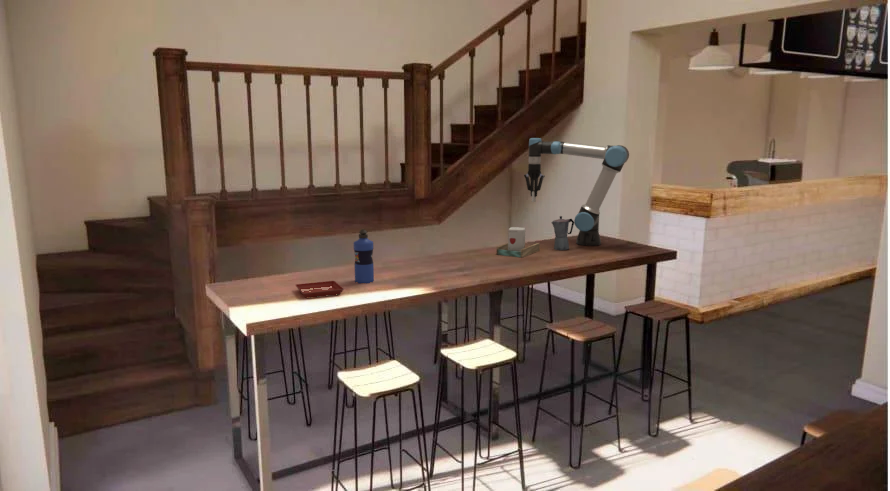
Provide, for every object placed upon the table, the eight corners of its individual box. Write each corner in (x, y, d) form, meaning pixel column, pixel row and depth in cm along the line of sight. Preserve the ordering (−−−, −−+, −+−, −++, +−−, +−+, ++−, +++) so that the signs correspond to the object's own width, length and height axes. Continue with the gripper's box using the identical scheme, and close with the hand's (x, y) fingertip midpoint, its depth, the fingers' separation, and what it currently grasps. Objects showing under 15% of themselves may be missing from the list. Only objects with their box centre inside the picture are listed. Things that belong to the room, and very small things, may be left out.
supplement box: (507, 255, 365) (507, 229, 362) (509, 252, 374) (510, 226, 371) (523, 255, 363) (523, 229, 360) (525, 252, 372) (525, 227, 369)
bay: (539, 250, 378) (539, 243, 377) (522, 257, 358) (522, 249, 357) (514, 247, 386) (514, 240, 385) (496, 254, 366) (496, 246, 365)
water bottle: (357, 284, 299) (356, 231, 294) (352, 280, 307) (350, 228, 302) (376, 282, 302) (375, 230, 298) (370, 278, 311) (369, 227, 306)
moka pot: (546, 248, 383) (547, 215, 380) (567, 246, 390) (568, 214, 386) (555, 251, 375) (556, 217, 371) (577, 249, 381) (578, 216, 377)
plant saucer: (295, 291, 289) (294, 283, 288) (334, 286, 296) (334, 280, 295) (303, 300, 272) (303, 293, 272) (344, 296, 279) (344, 288, 279)
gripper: (522, 163, 390) (521, 201, 394) (542, 164, 383) (541, 203, 388) (527, 162, 396) (526, 200, 401) (546, 163, 390) (545, 201, 394)
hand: (533, 201), depth 394 cm, fingers closed
